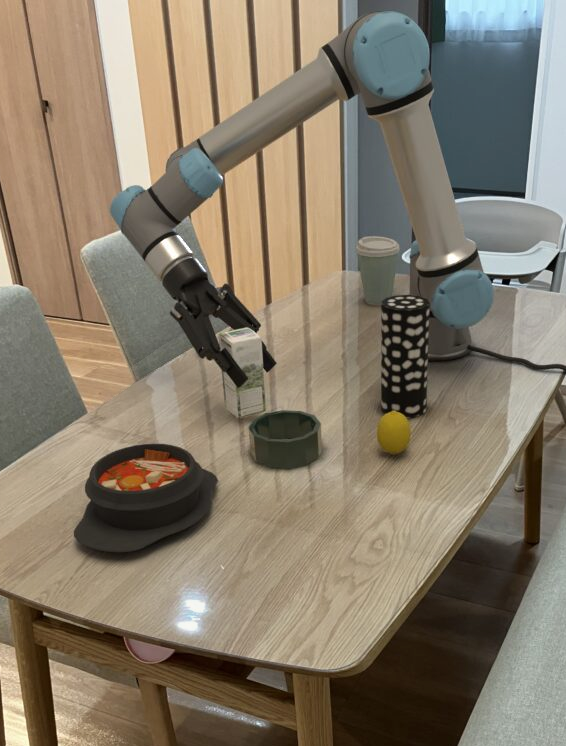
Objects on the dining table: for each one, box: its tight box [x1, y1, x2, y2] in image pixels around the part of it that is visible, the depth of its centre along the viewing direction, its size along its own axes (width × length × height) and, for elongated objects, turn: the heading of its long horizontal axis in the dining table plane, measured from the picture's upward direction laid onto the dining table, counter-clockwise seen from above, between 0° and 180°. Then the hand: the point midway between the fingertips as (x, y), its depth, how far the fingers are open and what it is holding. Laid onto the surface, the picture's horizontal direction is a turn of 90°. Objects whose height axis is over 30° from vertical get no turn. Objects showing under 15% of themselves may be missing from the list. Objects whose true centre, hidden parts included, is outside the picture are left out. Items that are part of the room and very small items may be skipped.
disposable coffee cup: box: [355, 235, 400, 307], centre depth 201 cm, size 11×11×15 cm
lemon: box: [376, 411, 412, 456], centre depth 135 cm, size 6×6×8 cm
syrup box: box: [217, 327, 267, 419], centre depth 146 cm, size 6×6×14 cm
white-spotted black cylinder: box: [380, 294, 430, 419], centre depth 147 cm, size 8×8×20 cm
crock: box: [248, 409, 323, 470], centre depth 138 cm, size 12×12×5 cm
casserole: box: [73, 443, 219, 553], centre depth 121 cm, size 25×19×8 cm
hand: (257, 375), depth 144 cm, fingers closed on syrup box, 7 cm apart
